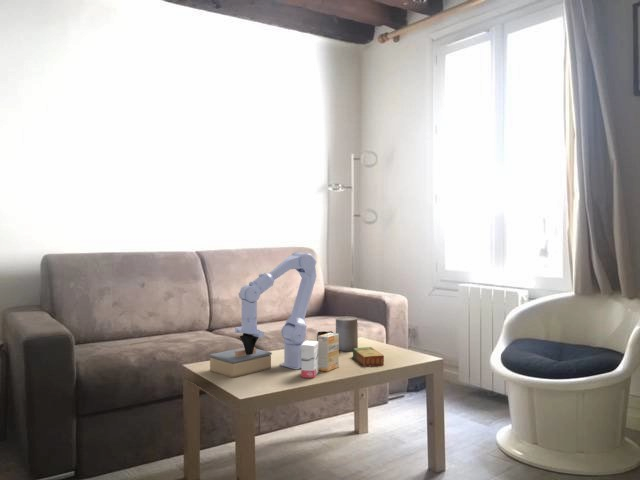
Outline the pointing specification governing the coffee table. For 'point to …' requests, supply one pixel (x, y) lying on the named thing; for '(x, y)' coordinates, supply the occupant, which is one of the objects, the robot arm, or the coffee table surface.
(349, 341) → the pillar candle
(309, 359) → the ink box
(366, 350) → the carton
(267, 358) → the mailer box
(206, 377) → the coffee table surface
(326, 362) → the supplement box
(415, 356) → the coffee table surface
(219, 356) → the lid
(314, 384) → the coffee table surface
